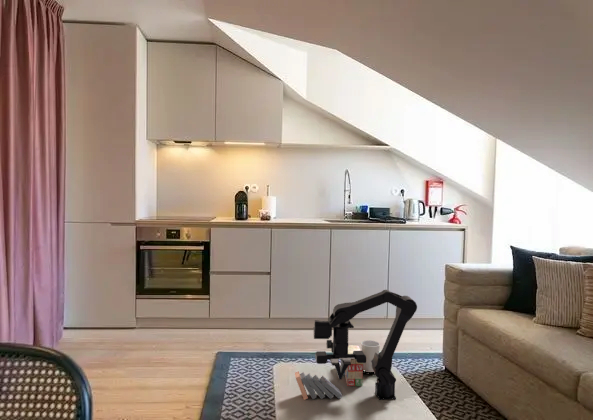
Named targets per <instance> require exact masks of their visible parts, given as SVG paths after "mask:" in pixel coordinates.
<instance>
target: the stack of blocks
mask: <svg viewBox="0 0 593 420" xmlns="http://www.w3.org/2000/svg"><path fill="white" fill-rule="evenodd" d="M353 351H362V349H361V347H360V346H359V345H356V344H355V345H354V344H353V345H352V344H351V345H350V344H348V354H353ZM350 362H351V365H349V366H348V367H347V369H346V371H345V372H344V377H345V382H346V386H347V387H363V384H364V383H363V382H364V379H363V378H364V377H363V375H364V374H363V373H364V372H363V363H358V362H357V361H356V359H351V360H350Z"/></svg>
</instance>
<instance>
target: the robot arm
mask: <svg viewBox="0 0 593 420" xmlns="http://www.w3.org/2000/svg"><path fill="white" fill-rule="evenodd" d="M385 303H388V304H391V305H392V306H394V307H395V317H394V319H393V323H392V324H391V327H390V329H389V332H388V334H387V337H386V339H385V342H384V344H383V347H382V348H381V351H379V354H377V353H375V354H374V358H373V360H372V361H371V362H372V368H373V371H374V375H375V376H376V382H375V386H374V388H375V389H374V391H375V393H374V394H375V395H376V396H377V398H378V400H396V399H397V396H396V395H395V392H396V388H395V387H396V381H397V379H396V377H395V375H394V373H393V372H392V368H393V367H392V366H393V357H394V354H395V353H396V352H395V351H396V350H397V346H398V345H399V342H400V339H401V338H402V335H403V332H404V330H405V328H406V325H407V324H408V322H409V321H410V320H411V319H412V318H413V316H414V315H415V314H416V312H417V309H418V305H417V302H416V301H415V300H413V298H411V297H410V296H408V295H400V294H398V293H395V292H392V291H390V290H388V289H383V290H381V291H380V292H377V293H374V294H372V295H370V296H366V297H363V298H361V299H359V300H357V301H353V302H344V303H338V304H336V305H335V306H334V307H333V308H332V313H331V314H330V316H329V317H328V318H327V320H320V319H319V320H318V319H317V320H314V323H313V325H314V326H313V339H314V340H326V349H330V351H331V353H329V354H327V352H326V351H325V350H324V351H316V352H314V359H315V362H316V364H318V365H326V364H327V363H328V361H329V362H330V364H331V366H334V368H335V370H336V373H337V374H336V375H337V377H338V380H339V381H340V380H342V379H343V377H344V376H345V374H344V372H345V371H346V369H347V367H348V366H349V365H351V362H350V360H351V359H356V361H357V362H358V363H366V355H365V354H364V352H363V351H362V350H361V351H353V354H348V345H349V329H355V327H354V324H353V323H352V322H351V321H350V320H352V319H354V318H355V317H356V316H357V315H359V314H360V313H363V312H366V311H368V310H371V309H374V308H376V307H378V306H382V305H384V304H385ZM331 337H332V340H331V339H330V338H331ZM339 360H340V362H339Z"/></svg>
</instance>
